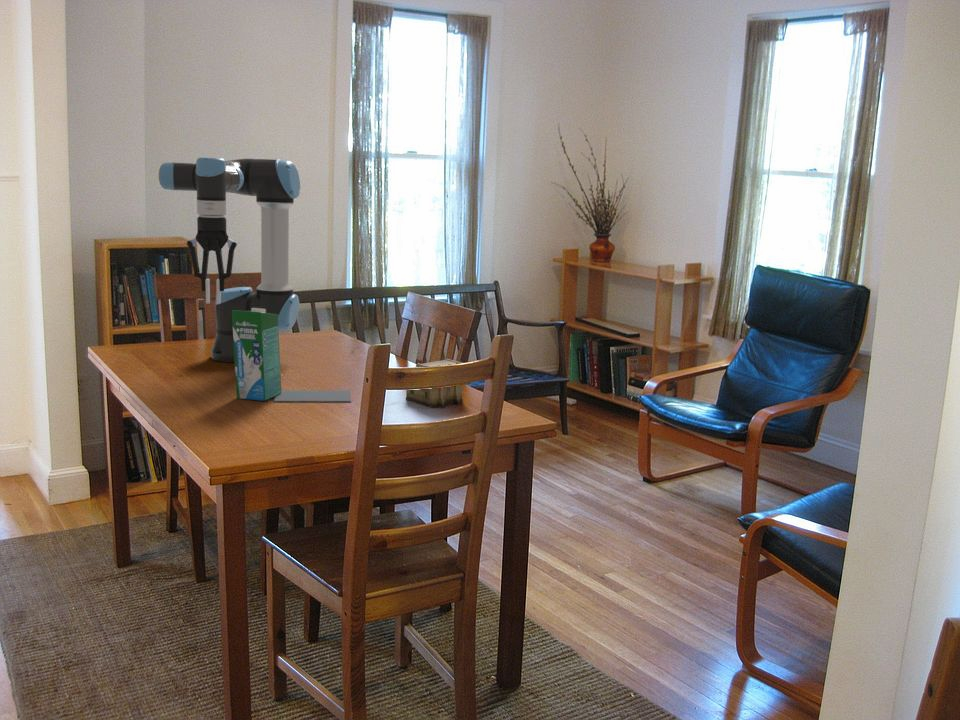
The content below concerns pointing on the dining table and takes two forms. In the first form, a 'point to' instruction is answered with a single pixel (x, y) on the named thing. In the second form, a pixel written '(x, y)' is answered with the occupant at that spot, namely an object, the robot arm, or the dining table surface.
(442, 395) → the miniature house
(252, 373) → the milk carton
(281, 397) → the mat
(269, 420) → the dining table surface
